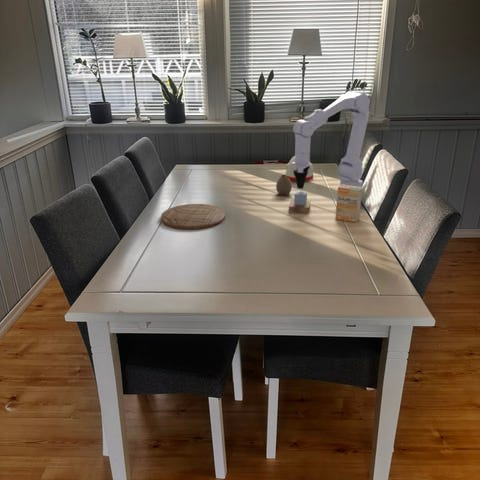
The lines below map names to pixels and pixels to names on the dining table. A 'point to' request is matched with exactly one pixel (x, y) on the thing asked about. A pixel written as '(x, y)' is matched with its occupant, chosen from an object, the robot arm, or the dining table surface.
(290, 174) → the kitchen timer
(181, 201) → the dining table surface
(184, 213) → the trivet
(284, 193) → the vase
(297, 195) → the cube
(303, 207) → the base
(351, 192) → the supplement box
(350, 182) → the robot arm
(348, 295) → the dining table surface
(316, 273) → the dining table surface
